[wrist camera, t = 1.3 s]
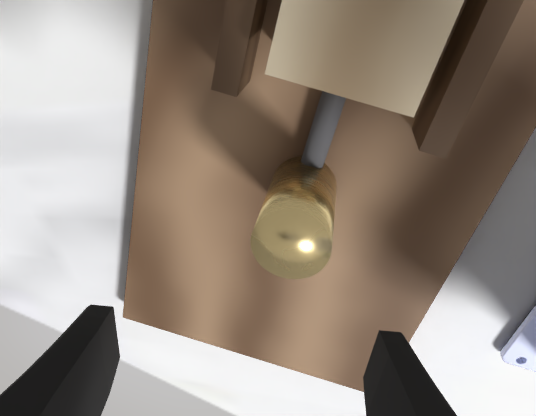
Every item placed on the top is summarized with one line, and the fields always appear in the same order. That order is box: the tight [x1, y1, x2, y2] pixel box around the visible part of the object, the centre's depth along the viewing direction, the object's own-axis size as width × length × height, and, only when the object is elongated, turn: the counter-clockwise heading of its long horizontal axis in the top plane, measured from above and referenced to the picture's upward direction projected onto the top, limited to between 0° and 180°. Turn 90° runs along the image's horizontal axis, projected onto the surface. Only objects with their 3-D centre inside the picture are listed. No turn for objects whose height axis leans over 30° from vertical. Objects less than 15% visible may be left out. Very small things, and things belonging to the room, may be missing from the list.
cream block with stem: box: [250, 0, 464, 279], centre depth 16 cm, size 5×12×5 cm, turn 166°
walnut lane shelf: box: [123, 0, 536, 392], centre depth 19 cm, size 16×26×4 cm, turn 166°
